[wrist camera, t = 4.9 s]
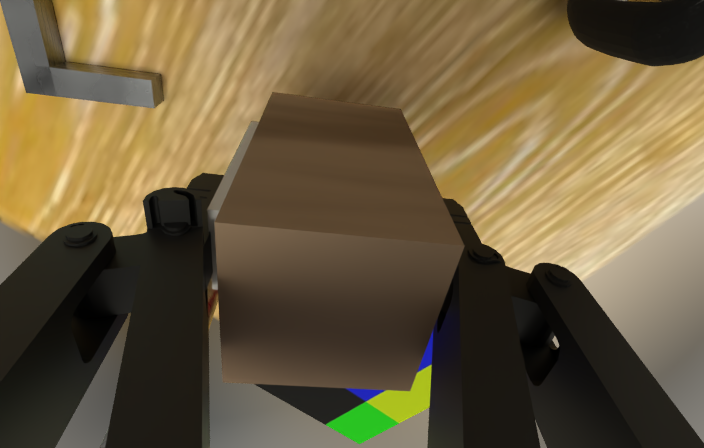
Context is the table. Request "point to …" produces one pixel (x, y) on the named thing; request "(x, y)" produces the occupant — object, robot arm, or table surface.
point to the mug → (641, 29)
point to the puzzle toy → (360, 403)
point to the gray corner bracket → (66, 77)
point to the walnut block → (331, 250)
